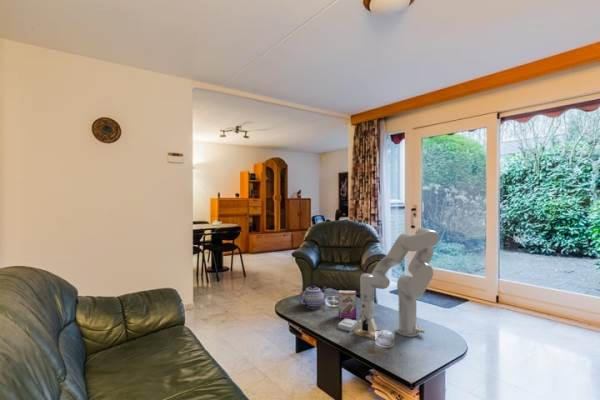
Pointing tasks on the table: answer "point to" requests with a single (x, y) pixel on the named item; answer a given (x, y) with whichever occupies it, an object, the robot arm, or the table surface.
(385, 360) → the table surface
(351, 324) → the striped square panel
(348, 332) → the perforation
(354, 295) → the candy bar box
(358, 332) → the tray
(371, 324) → the stub
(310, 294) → the teapot
